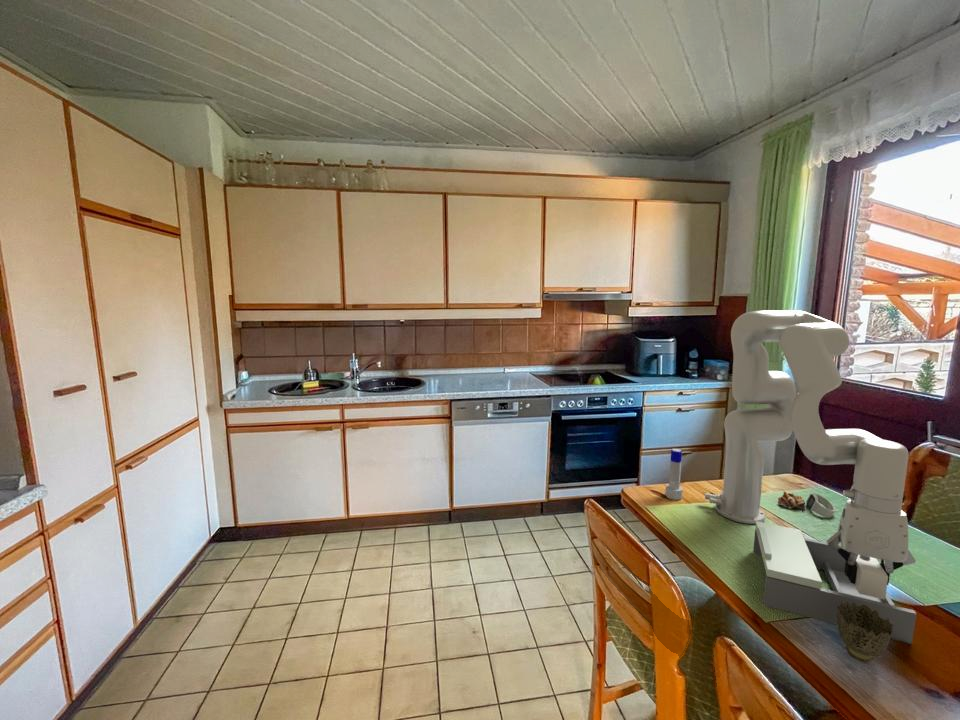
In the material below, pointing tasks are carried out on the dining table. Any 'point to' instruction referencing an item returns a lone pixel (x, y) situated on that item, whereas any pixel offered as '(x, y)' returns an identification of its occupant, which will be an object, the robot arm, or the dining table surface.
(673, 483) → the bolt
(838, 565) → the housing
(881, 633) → the cup
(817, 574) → the lid
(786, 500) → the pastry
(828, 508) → the wristwatch
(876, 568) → the white block with knob
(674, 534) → the dining table surface
